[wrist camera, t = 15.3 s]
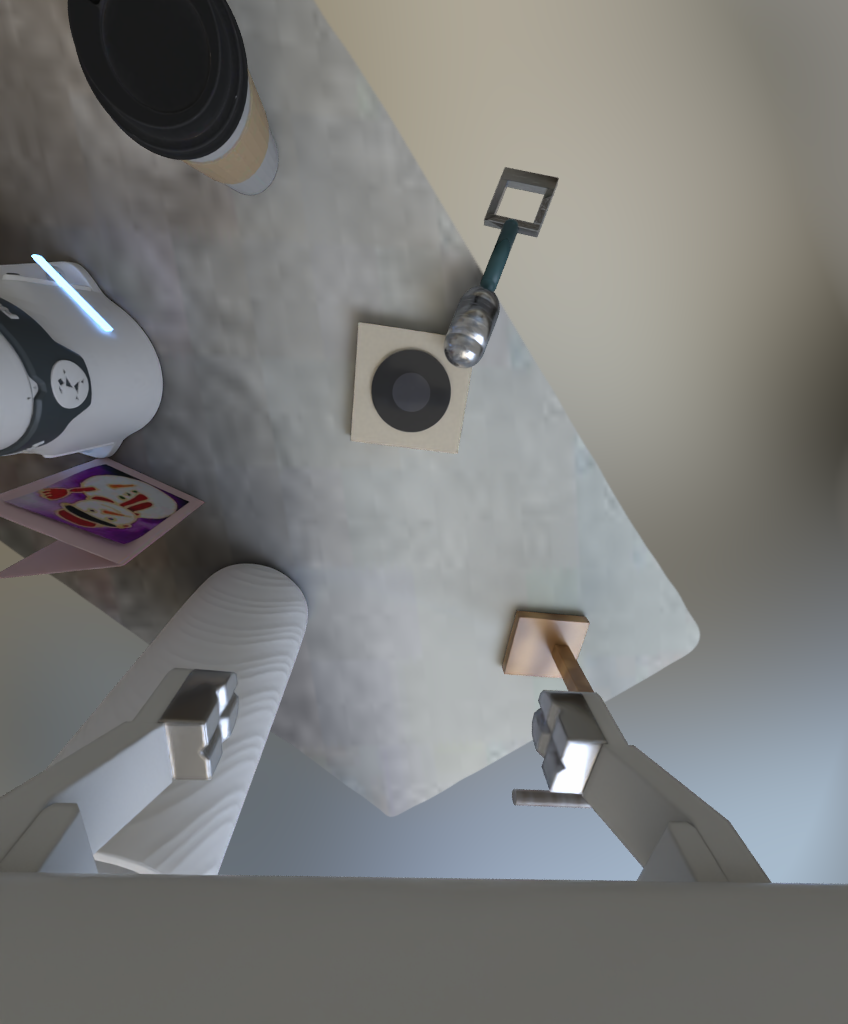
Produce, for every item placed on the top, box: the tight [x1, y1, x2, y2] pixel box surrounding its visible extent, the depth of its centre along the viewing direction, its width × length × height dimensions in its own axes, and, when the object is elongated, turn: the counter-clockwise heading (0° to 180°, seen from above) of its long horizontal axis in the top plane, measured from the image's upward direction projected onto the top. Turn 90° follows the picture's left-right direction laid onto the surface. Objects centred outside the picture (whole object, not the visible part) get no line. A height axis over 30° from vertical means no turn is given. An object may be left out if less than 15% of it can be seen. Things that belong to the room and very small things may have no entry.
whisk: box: [444, 167, 559, 368], centre depth 40 cm, size 4×6×21 cm
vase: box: [47, 563, 308, 875], centre depth 39 cm, size 14×14×32 cm
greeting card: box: [0, 457, 205, 578], centre depth 40 cm, size 11×7×15 cm, turn 60°
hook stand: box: [502, 611, 594, 808], centre depth 46 cm, size 15×10×25 cm, turn 82°
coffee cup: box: [68, 0, 278, 195], centre depth 29 cm, size 9×9×15 cm
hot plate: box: [351, 322, 472, 454], centre depth 43 cm, size 12×12×2 cm
